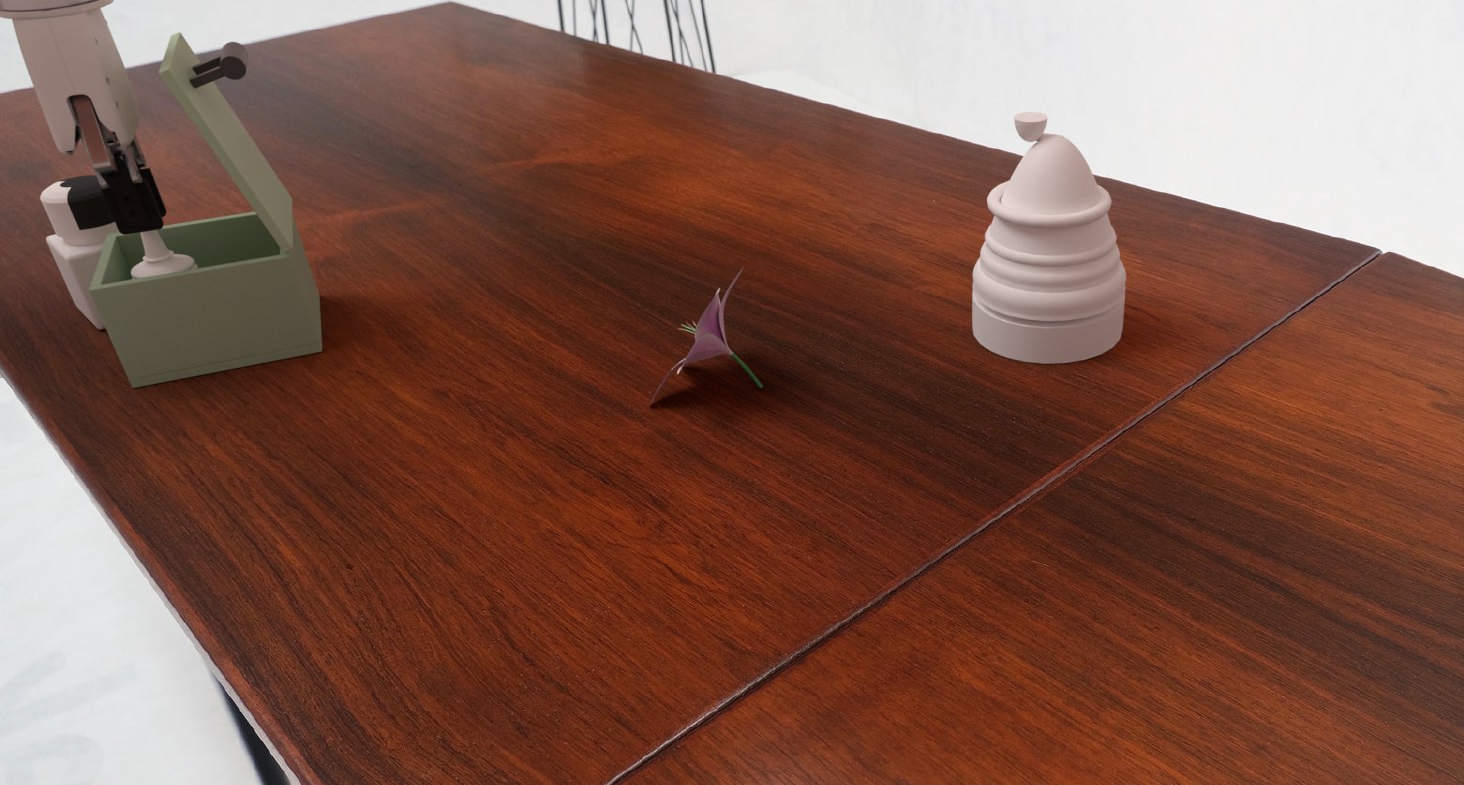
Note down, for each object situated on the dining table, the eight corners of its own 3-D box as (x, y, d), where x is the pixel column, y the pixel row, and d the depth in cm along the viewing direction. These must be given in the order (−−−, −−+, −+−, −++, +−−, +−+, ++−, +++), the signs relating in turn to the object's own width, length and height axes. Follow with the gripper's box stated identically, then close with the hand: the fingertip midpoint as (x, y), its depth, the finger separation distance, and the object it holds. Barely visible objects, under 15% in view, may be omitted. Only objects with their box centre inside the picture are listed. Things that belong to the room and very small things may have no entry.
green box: (132, 388, 99) (88, 290, 94) (146, 326, 109) (106, 234, 104) (322, 351, 104) (290, 256, 99) (319, 295, 113) (289, 205, 108)
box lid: (157, 73, 89) (223, 46, 89) (170, 35, 98) (229, 11, 99) (283, 253, 98) (341, 227, 99) (284, 202, 108) (336, 179, 109)
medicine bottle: (158, 284, 116) (108, 163, 109) (183, 306, 112) (132, 181, 105) (76, 308, 112) (19, 183, 105) (99, 332, 108) (41, 203, 101)
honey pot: (951, 350, 101) (948, 137, 91) (999, 288, 111) (1001, 89, 100) (1101, 374, 97) (1116, 153, 86) (1137, 307, 106) (1154, 102, 96)
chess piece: (140, 291, 98) (90, 172, 93) (126, 273, 102) (76, 157, 96) (205, 274, 101) (160, 157, 95) (188, 257, 104) (144, 143, 99)
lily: (746, 348, 104) (677, 261, 99) (835, 335, 96) (764, 239, 91) (664, 446, 98) (587, 359, 93) (751, 441, 90) (671, 344, 85)
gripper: (8, -27, 93) (104, 201, 104) (-34, 15, 81) (80, 269, 92) (117, -37, 96) (200, 186, 106) (92, 2, 84) (189, 251, 94)
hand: (144, 223), depth 99 cm, fingers closed on chess piece
